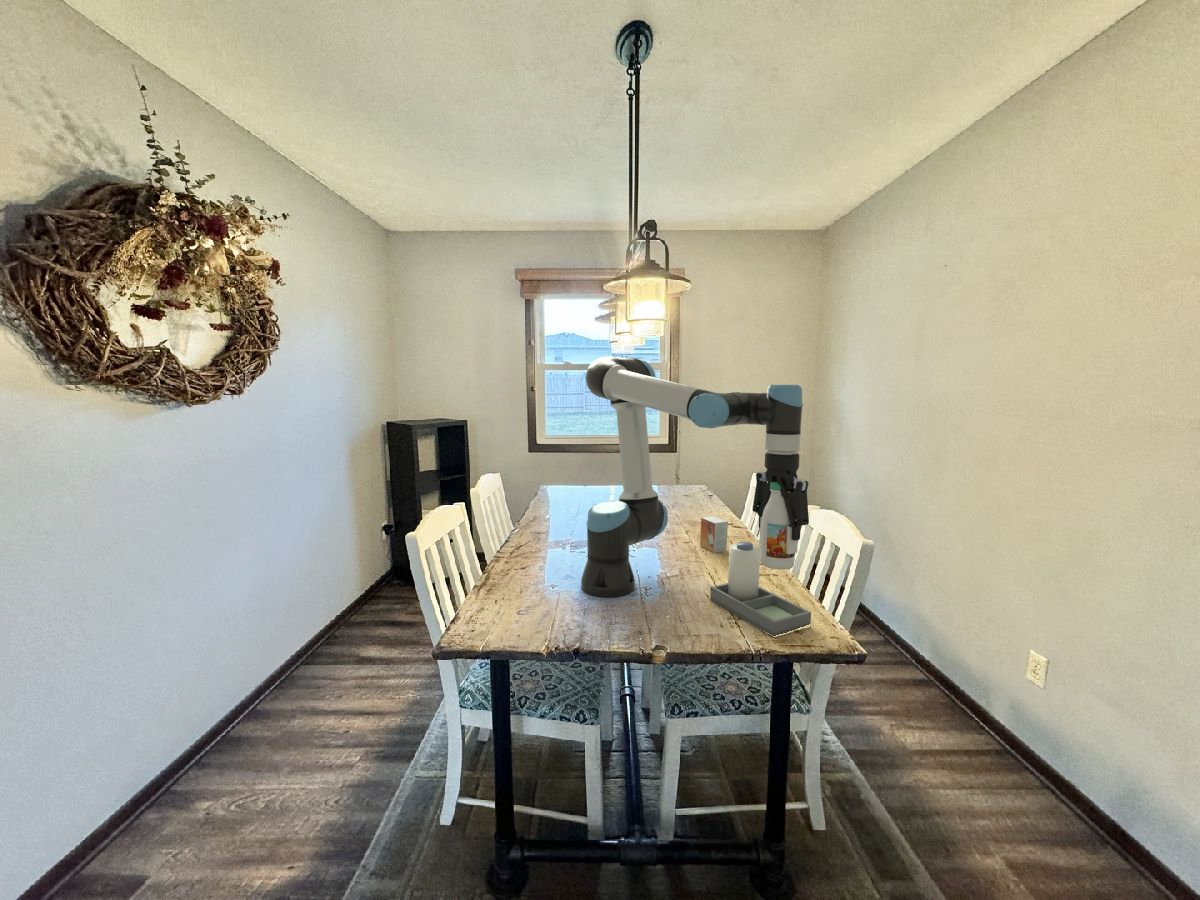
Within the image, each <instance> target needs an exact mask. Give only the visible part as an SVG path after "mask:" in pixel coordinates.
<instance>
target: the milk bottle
mask: <svg viewBox="0 0 1200 900" xmlns="http://www.w3.org/2000/svg"><path fill="white" fill-rule="evenodd" d="M780 488H781V487H780V486H779V485H778V483H777V482H771V483H770V491H771V495H770V498H769V501H768V503H767V504H766V506H765V508H764V511H763V515H762V526H761V544H760V547H759V548H760V564H761V565H762V566H764V567H766V568H769V569H772V570H781V571H783V570H789V569H793V568H794V565H795V558H796V553H793V554H786V543H787V526H788V525H790V520H789V517H788V513H787V509H786V505H785V501H784V498H783V497H782V496H781V492H780ZM790 492H791V491H790ZM790 492H787V493H790ZM795 521H796V519H795Z"/></svg>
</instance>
